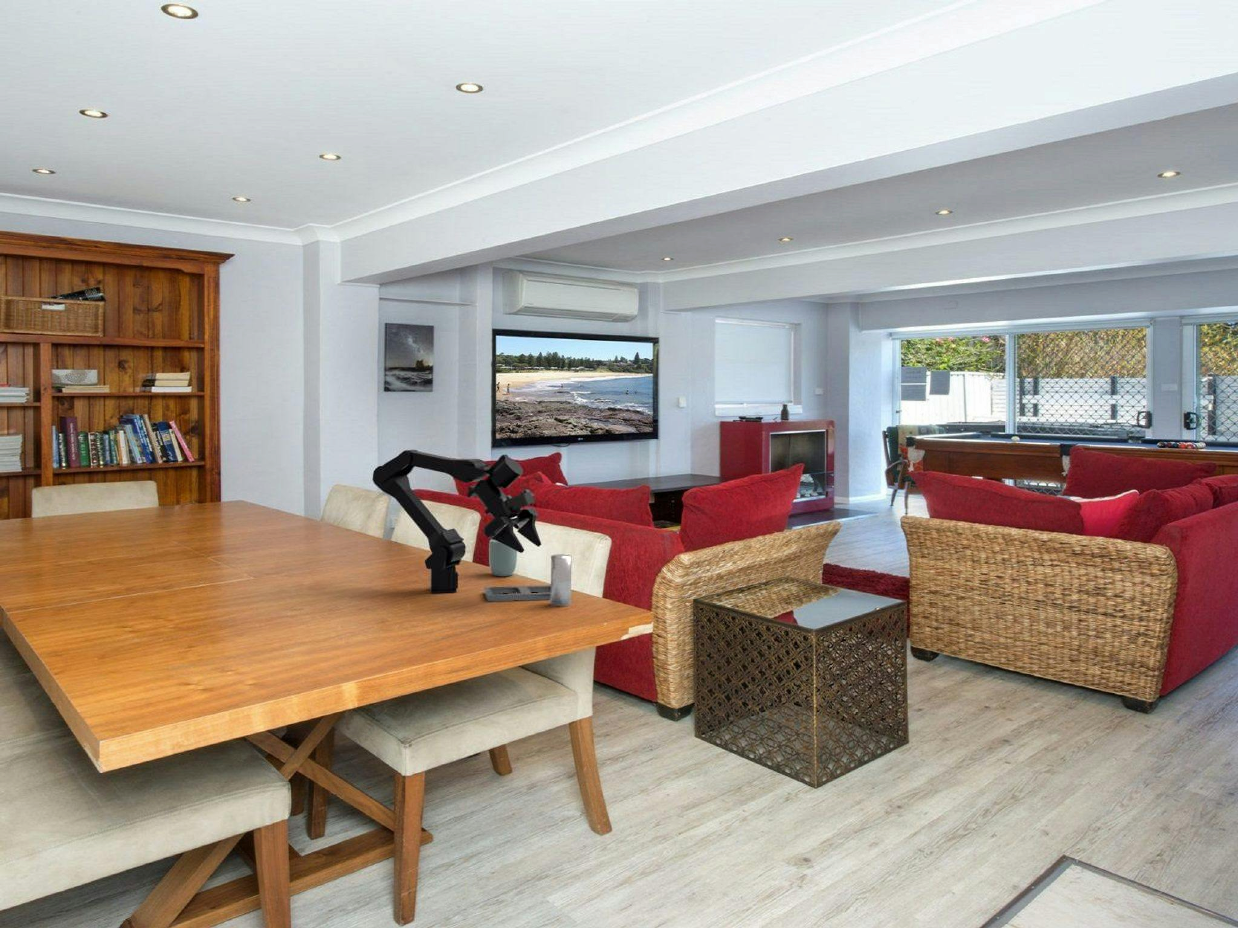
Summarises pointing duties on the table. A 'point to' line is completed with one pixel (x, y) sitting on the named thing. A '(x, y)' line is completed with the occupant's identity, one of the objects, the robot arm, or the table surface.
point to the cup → (501, 558)
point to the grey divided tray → (521, 594)
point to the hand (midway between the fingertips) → (531, 548)
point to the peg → (560, 580)
